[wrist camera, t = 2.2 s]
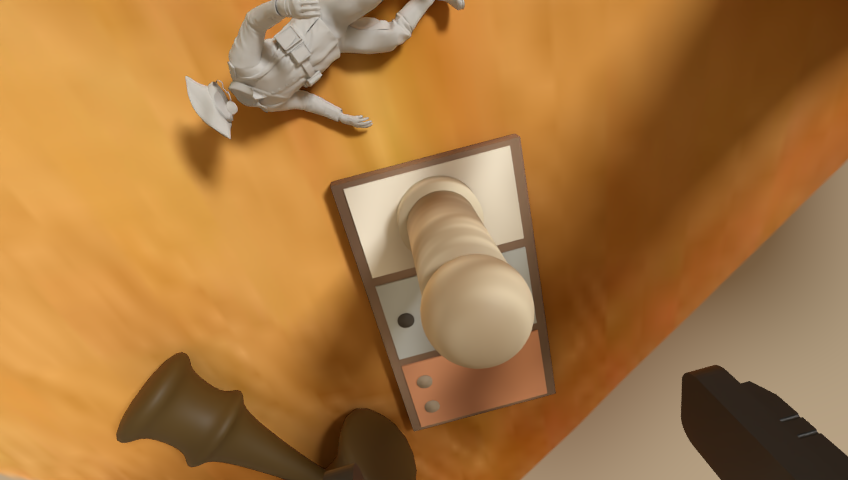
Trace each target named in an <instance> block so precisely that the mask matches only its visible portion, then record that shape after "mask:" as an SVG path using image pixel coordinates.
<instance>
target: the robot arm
mask: <svg viewBox="0 0 848 480" xmlns="http://www.w3.org/2000/svg"><path fill="white" fill-rule="evenodd" d="M681 405H682V406H681V420H682V425H683V428H684V430H685V433H686V435H687V437H688V438H689V440H690V442H691V443H692V445H693V446H694V447H695V448H696V450H697V451H698V452H699V453H700V455H701V456H702V457H703V458H704V459H705V461H706V462H707V463H708V464H709V466H710V467H711V468H712V469H713V471H714V472H715V473H716V474H717V475H718V477H719V478H720V479H721V480H848V456H847V455H845V454H844V453H843V452H842V451H841V450H840V449H838V448H837V447H836V446H835V445H834V444H833V443H832V442H830V441H829V440H828V439H827V438H826V437H824V435H822V434H819V433H818V432H817V430H816V429H815V428H814V427H813V426H812V425H811V424H810V423H809V422H807V421H806V420H805V419H804V418H803V417H802V418H800V417H799V415H798V413H797V412H796V411H795V410H793V409H792V408H791V407H790V406H789V405H788V404H787V403H785V402H784V401H783V400H782V399H781V398H780V397H778V396H777V395H776V394H774V393H772V392H770V391H768V390H766V389H764V388H762V387H760V386H758V385H756V384H754V383H752V382H750V381H748V382H745V383H741V384H740V383H739V382H738V381H737V380H736V379H735V378H734V377H733V376H732V375H730V374H729V373H728V372H727V371H726V370H725V369H724V368H722V367H720V366H718V365H713V366H710V367H706V368H702V369H699V370H695V371H691V372H688V373H685V374H684V375H683V377H682V402H681ZM323 480H364V478H363V475H362V473H361V471H360V468H359V466H358V465H357V464H356V463H354V464H351V465H347V466H343V467H340V468H336V469H333V470H329V471H326V472H325V473H324V476H323Z"/></svg>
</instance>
